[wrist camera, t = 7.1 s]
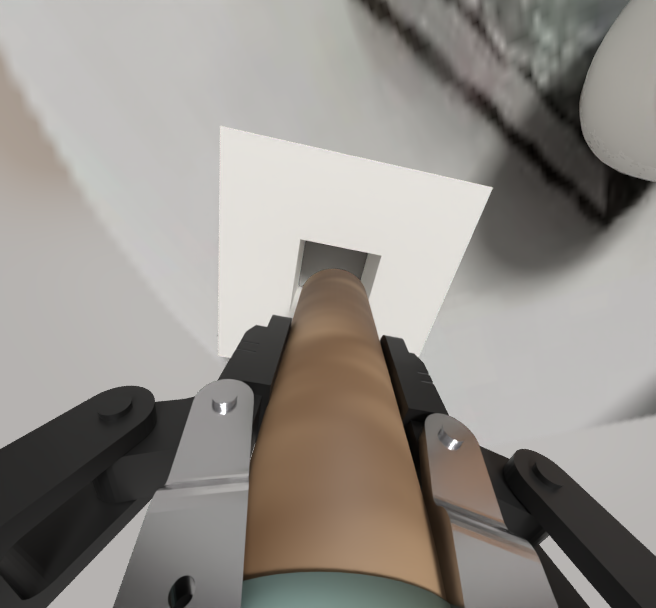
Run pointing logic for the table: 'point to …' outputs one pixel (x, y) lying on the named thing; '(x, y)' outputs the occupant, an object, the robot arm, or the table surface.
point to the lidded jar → (624, 94)
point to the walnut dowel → (336, 471)
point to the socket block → (335, 232)
